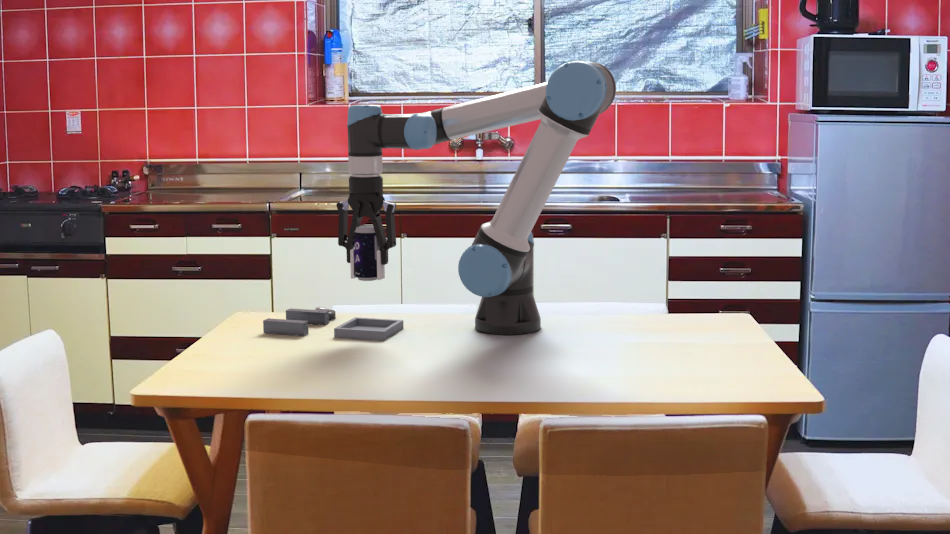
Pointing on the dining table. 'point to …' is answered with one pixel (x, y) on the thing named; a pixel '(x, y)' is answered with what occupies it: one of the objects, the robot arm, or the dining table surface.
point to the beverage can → (366, 253)
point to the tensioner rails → (298, 321)
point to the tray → (368, 328)
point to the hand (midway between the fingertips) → (367, 277)
